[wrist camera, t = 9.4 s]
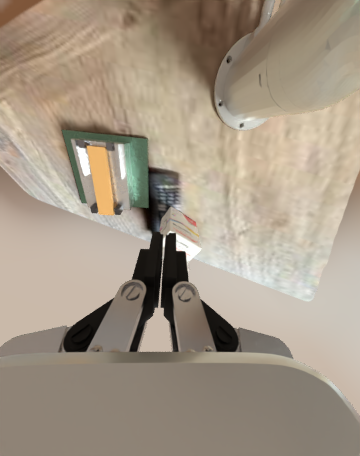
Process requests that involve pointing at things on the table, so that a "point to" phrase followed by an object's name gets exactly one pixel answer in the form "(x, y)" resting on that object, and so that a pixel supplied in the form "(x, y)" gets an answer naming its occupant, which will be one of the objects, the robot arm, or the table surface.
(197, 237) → the ink cartridge box
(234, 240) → the table surface
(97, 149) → the orange wooden bar
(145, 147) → the board
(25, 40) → the table surface
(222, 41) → the table surface
